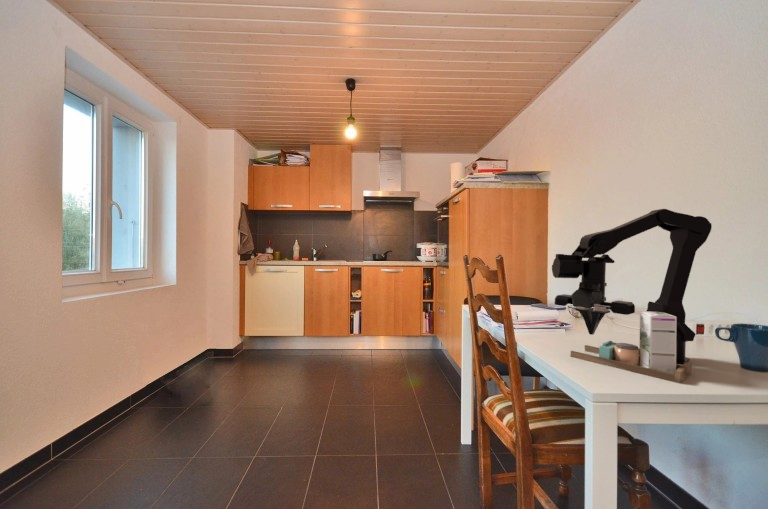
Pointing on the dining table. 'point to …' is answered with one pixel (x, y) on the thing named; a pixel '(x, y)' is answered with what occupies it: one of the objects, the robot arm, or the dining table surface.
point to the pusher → (607, 350)
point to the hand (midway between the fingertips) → (591, 334)
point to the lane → (678, 377)
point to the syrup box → (658, 341)
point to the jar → (626, 353)
